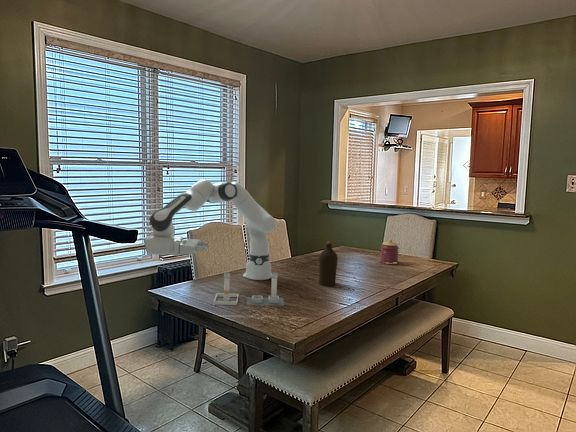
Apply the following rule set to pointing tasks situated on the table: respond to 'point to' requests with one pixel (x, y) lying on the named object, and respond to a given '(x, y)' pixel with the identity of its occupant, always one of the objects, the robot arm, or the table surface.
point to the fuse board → (264, 300)
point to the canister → (389, 252)
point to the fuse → (274, 285)
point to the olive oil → (327, 266)
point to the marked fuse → (226, 287)
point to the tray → (226, 301)
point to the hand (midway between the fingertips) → (207, 246)
